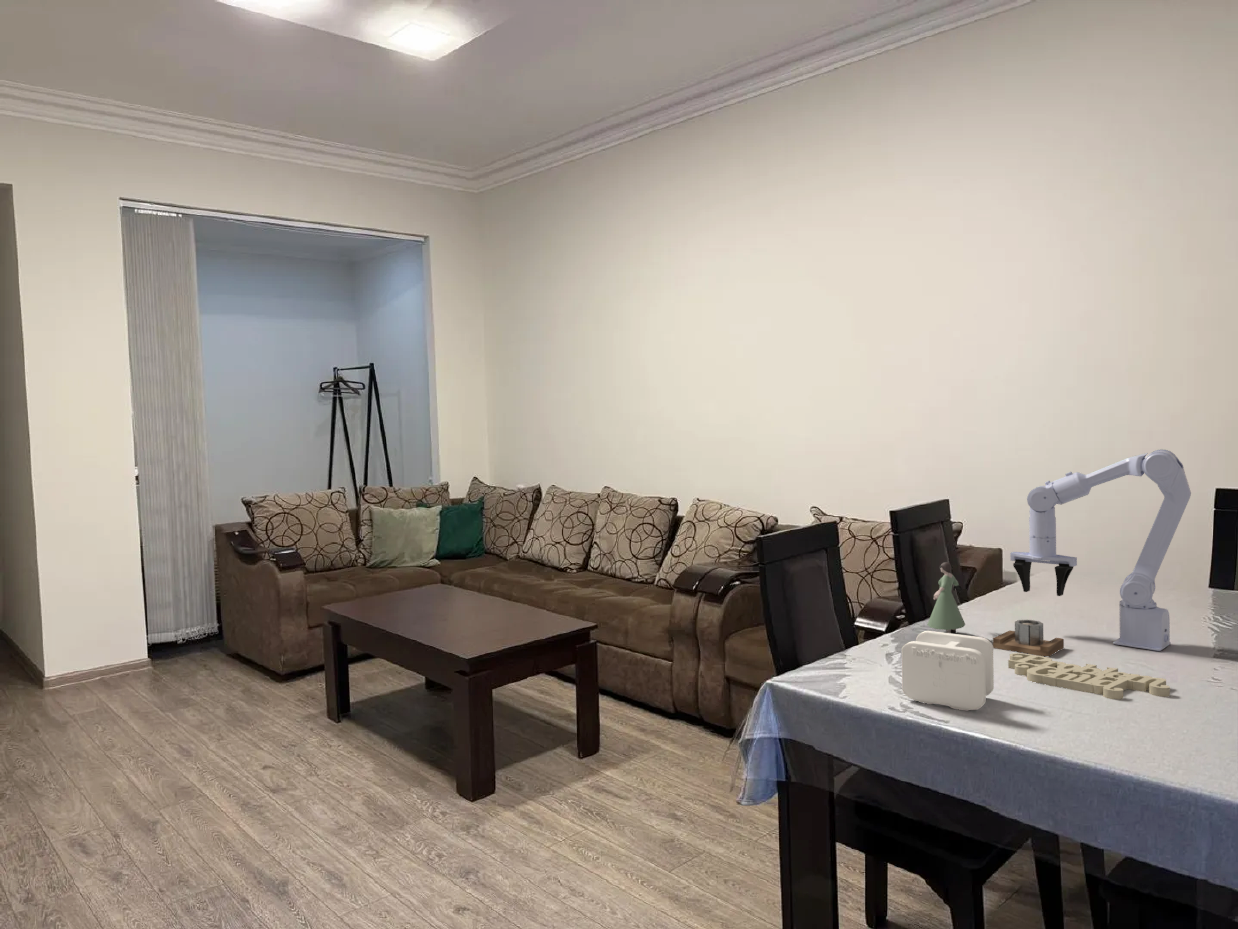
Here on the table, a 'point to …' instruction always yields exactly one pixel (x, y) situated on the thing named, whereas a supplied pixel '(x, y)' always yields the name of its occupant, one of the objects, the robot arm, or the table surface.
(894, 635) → the table surface
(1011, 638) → the shaft block
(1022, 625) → the tube
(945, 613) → the character figurine
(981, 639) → the cable organizer
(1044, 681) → the decorative sign
